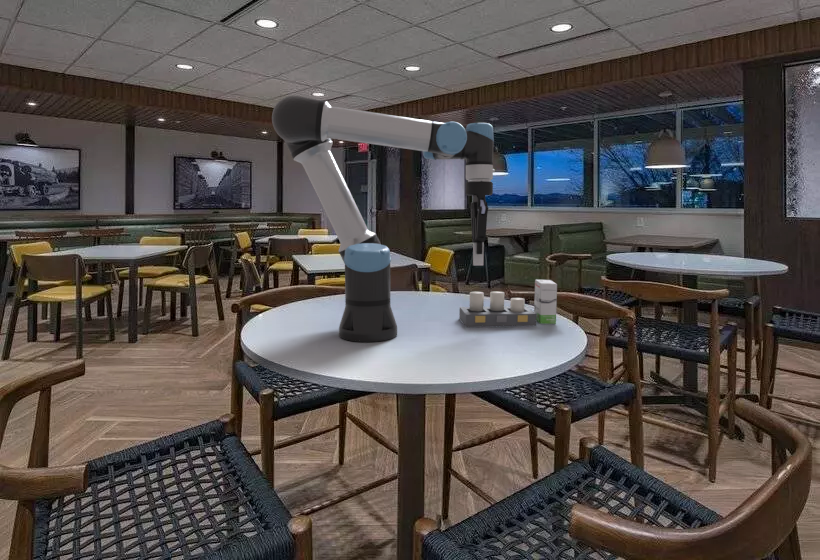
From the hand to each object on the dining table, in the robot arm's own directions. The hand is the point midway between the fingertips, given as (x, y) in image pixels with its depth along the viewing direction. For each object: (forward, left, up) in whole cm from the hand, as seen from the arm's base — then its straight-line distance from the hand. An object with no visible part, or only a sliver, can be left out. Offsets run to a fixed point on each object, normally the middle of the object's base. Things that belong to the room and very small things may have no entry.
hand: (478, 265), depth 148 cm
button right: (+12, 0, -15) cm, 19 cm away
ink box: (+20, +1, -17) cm, 26 cm away
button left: (0, 0, -13) cm, 13 cm away
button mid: (+6, 0, -13) cm, 14 cm away
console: (+6, 0, -17) cm, 18 cm away
